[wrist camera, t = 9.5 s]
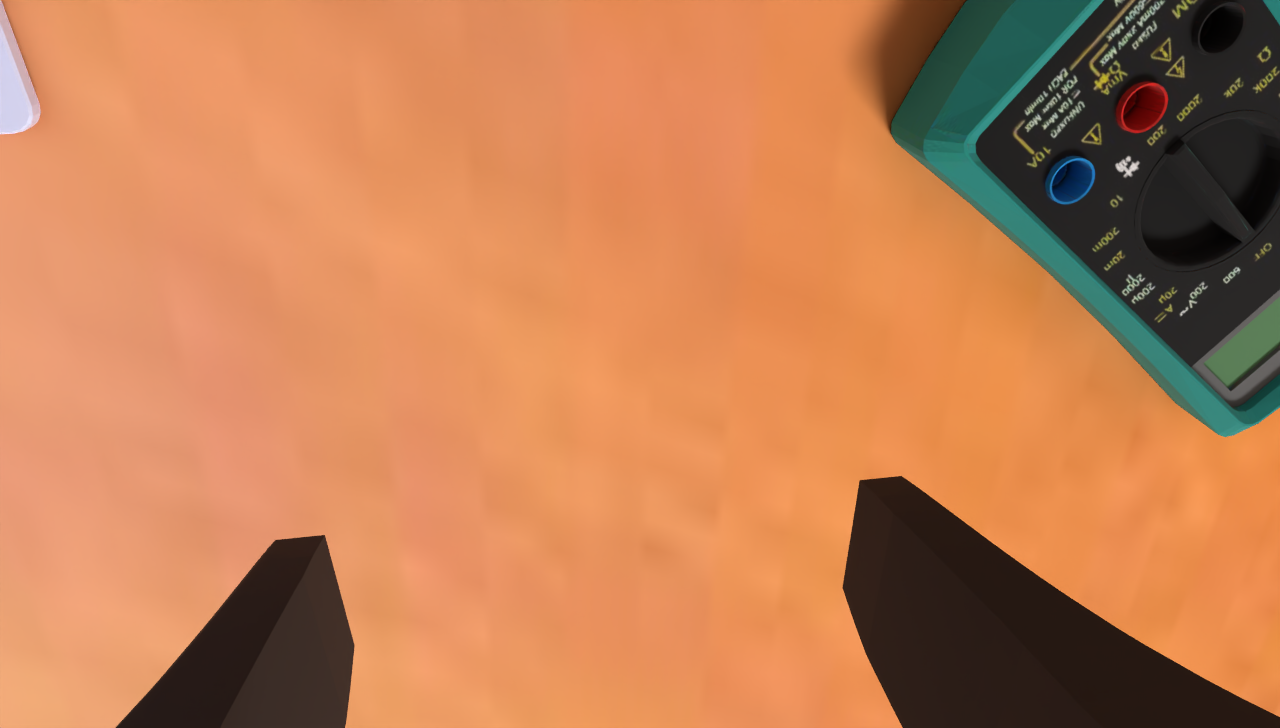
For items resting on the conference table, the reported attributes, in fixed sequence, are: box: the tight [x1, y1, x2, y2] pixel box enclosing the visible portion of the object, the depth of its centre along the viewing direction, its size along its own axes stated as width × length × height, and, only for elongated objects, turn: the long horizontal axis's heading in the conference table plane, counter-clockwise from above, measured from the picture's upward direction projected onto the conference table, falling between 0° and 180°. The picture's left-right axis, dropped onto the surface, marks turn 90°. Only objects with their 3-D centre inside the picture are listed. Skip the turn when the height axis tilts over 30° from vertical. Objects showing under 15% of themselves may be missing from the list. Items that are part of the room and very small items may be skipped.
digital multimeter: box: [891, 0, 1280, 437], centre depth 20 cm, size 7×15×3 cm, turn 51°
